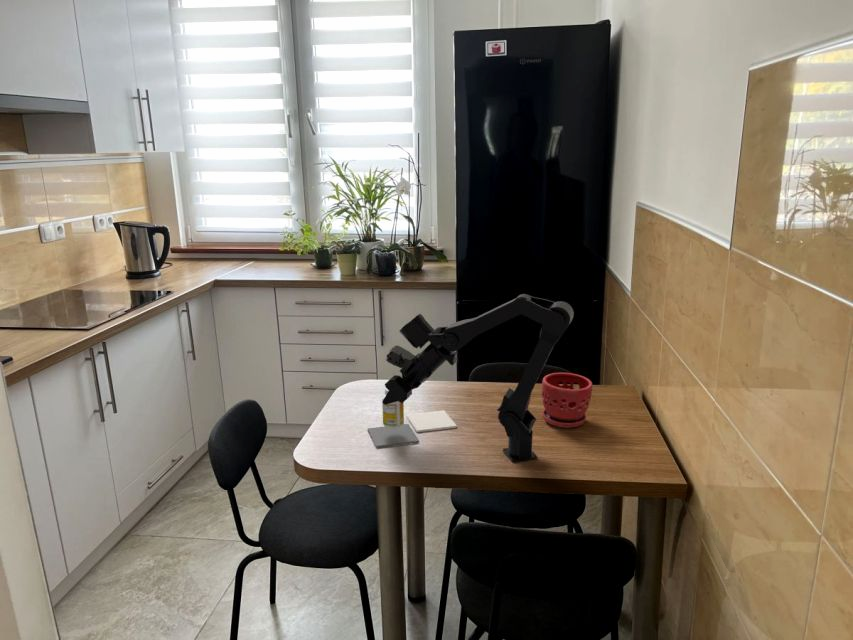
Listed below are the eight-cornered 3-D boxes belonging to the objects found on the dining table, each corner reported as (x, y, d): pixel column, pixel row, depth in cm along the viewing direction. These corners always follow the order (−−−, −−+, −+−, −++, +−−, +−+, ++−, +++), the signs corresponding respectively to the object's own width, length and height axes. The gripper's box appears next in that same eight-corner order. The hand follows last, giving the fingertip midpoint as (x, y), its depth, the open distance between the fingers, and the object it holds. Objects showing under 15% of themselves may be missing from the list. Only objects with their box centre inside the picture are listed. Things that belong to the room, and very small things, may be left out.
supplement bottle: (397, 418, 167) (396, 383, 165) (407, 425, 163) (407, 389, 161) (379, 423, 165) (378, 387, 162) (389, 430, 160) (388, 393, 158)
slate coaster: (419, 442, 161) (419, 440, 161) (376, 448, 158) (376, 446, 158) (408, 425, 171) (408, 423, 171) (367, 430, 168) (367, 428, 168)
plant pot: (537, 428, 169) (539, 385, 166) (543, 410, 182) (545, 370, 179) (588, 434, 166) (591, 390, 163) (591, 415, 178) (593, 374, 175)
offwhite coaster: (456, 427, 170) (456, 425, 170) (416, 432, 167) (416, 430, 167) (444, 412, 180) (444, 410, 180) (406, 416, 177) (406, 414, 177)
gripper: (418, 327, 165) (380, 364, 172) (391, 347, 148) (350, 388, 155) (448, 359, 165) (409, 395, 171) (424, 383, 148) (381, 422, 154)
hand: (387, 399), depth 163 cm, fingers closed on supplement bottle, 5 cm apart
